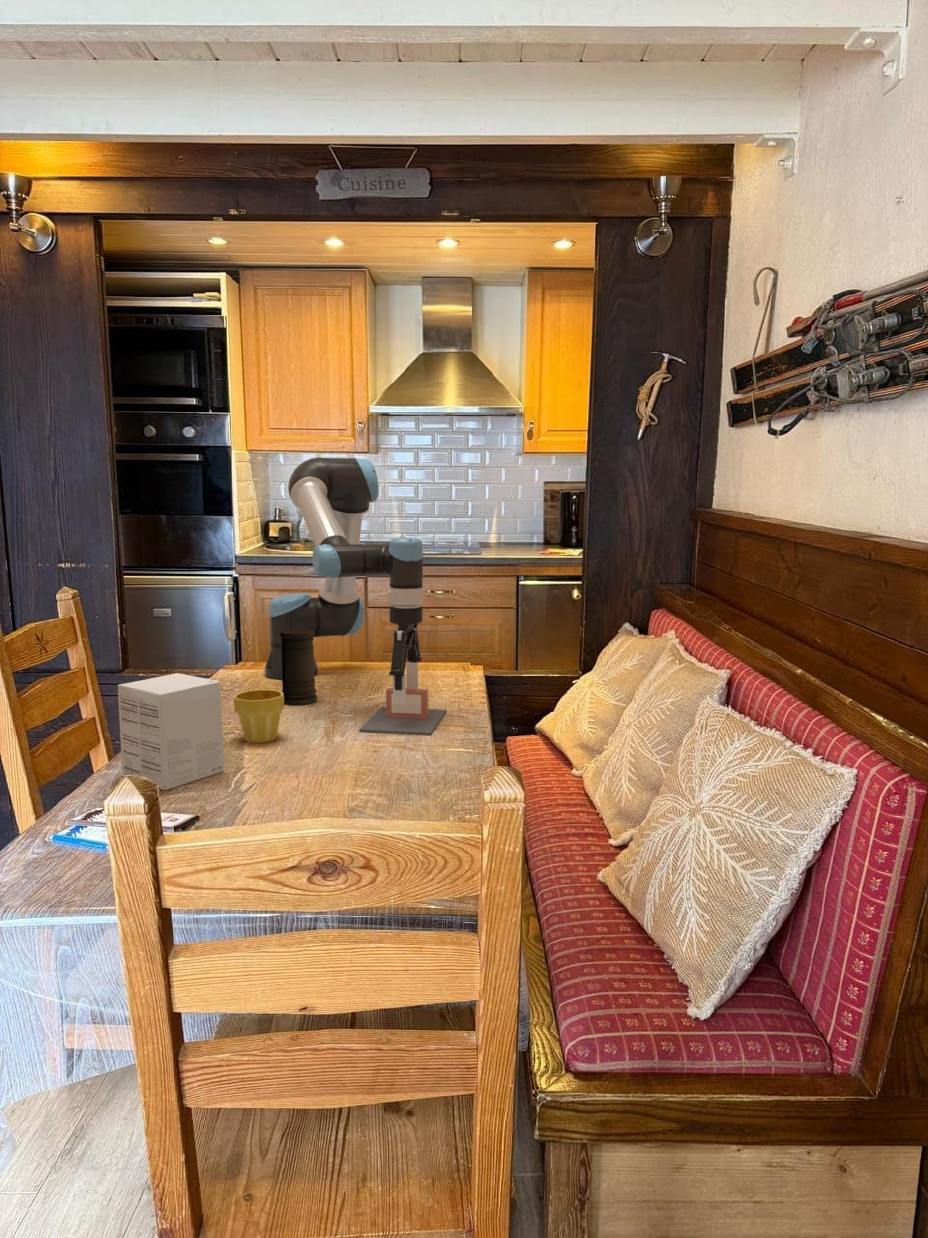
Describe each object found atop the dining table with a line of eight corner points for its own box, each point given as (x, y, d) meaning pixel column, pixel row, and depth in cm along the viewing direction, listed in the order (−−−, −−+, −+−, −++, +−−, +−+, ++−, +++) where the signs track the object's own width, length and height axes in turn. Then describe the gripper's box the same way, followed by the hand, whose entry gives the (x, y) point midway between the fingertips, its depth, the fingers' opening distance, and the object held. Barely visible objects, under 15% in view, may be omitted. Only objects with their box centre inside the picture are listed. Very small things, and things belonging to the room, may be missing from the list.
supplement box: (181, 759, 165) (177, 672, 162) (225, 771, 157) (222, 680, 155) (120, 777, 154) (115, 684, 151) (164, 791, 146) (159, 694, 144)
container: (321, 697, 215) (319, 628, 213) (311, 706, 206) (309, 634, 204) (287, 696, 216) (285, 628, 214) (276, 705, 207) (274, 633, 205)
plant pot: (229, 745, 173) (227, 699, 172) (242, 732, 184) (241, 688, 182) (278, 746, 173) (277, 700, 172) (289, 732, 184) (288, 688, 182)
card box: (388, 714, 196) (388, 687, 195) (428, 716, 195) (428, 689, 194) (386, 717, 194) (386, 689, 193) (426, 719, 192) (426, 691, 192)
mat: (381, 709, 204) (381, 707, 203) (446, 712, 201) (446, 709, 201) (359, 731, 184) (359, 729, 184) (430, 735, 182) (430, 732, 181)
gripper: (402, 597, 203) (402, 682, 207) (376, 613, 179) (376, 709, 182) (432, 598, 202) (432, 684, 206) (410, 614, 178) (410, 711, 181)
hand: (406, 696), depth 194 cm, fingers open, 13 cm apart
